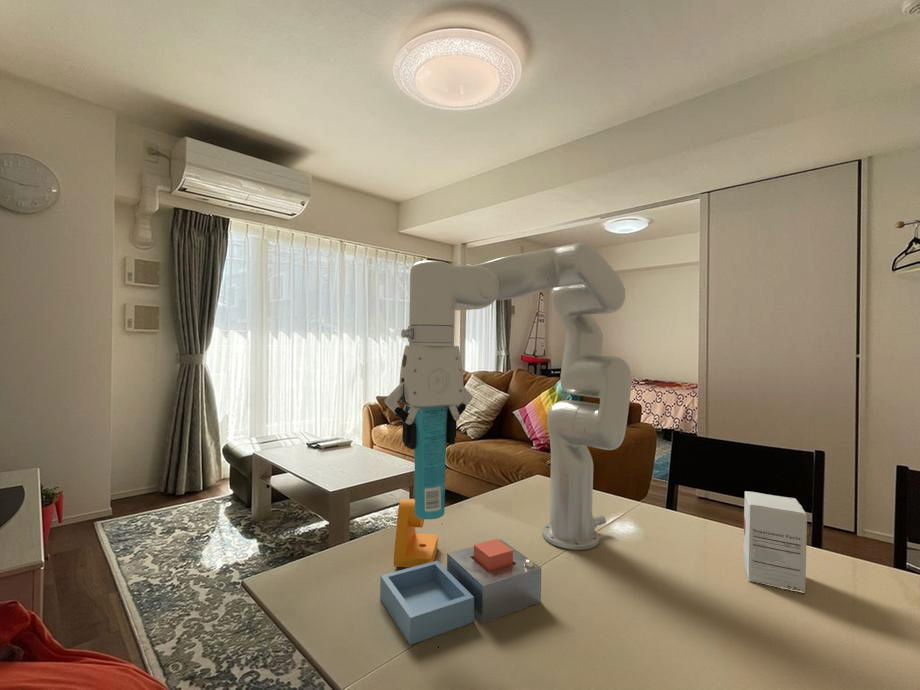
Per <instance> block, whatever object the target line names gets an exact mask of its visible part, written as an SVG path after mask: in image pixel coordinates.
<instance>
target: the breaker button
mask: <svg viewBox="0 0 920 690" xmlns="http://www.w3.org/2000/svg"><path fill="white" fill-rule="evenodd" d="M499 540H500V539H498V538H495V539H491V540H487V541H483V542H480V543H479V542H478V543H475V544H473V547H474V561H475V562H477V563H478V564H479V565H480V566H481V567H483V568H484V569H485V570H486V571H487V572H491V571H495V570H498V569H501V568H505V567H508V566H511V565H513V550H512V549H510V548H509V547H508V546H506V545H505V544H503V543H502V542H501V541H499Z"/></svg>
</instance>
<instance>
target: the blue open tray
mask: <svg viewBox="0 0 920 690" xmlns="http://www.w3.org/2000/svg"><path fill="white" fill-rule="evenodd" d="M379 576H380V580H379V581H380V582H379V583H380V584H379V587H380V588H379V590H380V591H379V599H380V601H381V602H382V604H383V606H384V607H385V609H386V610H387V612H388V613H389V615H390V616H391V618H392V620H393V621H394V622H395V625H396V626H397V627H398V629H399V631H400V632H401V633H402V636H403V637H404V638H405V640H406V641H407V643H408V645H409V646H412V645H413V644H416V643H419V642H422V641H426V640H428V639H431V638H433V637H436V636H439V635H442V634H445V633H447V632H451V631H453V630H456V629H459V628H462V627H464V626H466V625H469V624H473V623H474V621H475V619H474V617H475V616H474V596H473V595H471V594H470V593H469V592H468V591H467V590H466V589H465V588H464V587H463V586H462V585H461V584H460V583H459V582H458V581H457V580H456V579H455V578H454V577H453V576H452V575H451V574H450V573H449V572H448V571H447V568H445V567H444V565H443V564H441V562H439V561H438V560H434V562H430V563H426V564H422V565H419V566H415V567H411V568H410V567H406V568H404V569H401V570H397V571H392V572H390V573H389V572H388V573H384V574H381V575H379Z"/></svg>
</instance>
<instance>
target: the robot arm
mask: <svg viewBox="0 0 920 690" xmlns="http://www.w3.org/2000/svg"><path fill="white" fill-rule="evenodd" d="M549 290H551V292H550V293H551V296H550V297H551V303H552V305H553V308H554V310H555V311H556V312H557V315H559V318H560V319H561V321H562V325H563V326H564V331H565V343H564V349H563V356H562V361H561V362H562V363H561V369H560V370H561V371H560V379H559V380H560V386H561V388H562V390H563V391H565V392H566V393H568V394H570V395H574V396H580V397H582V396H583V397H590V398H597V399H599V403H594V402H593V403H592V402H589V401H579V400H572V399H571V400H570V399H569V400H568V399H566V400H565V399H564V400H559V401H556V402H555V403H553V404H552V405H551V407H550V408H549V409H548V412H547V417H546V424H547V431H548V436H549V445H550V446H549V447H550V474H549V475H550V478H549V479H550V483H549V484H550V487H549V523H547V524H546V525H544V526H543V528H542V537H543V538H544V539H545V540H546V542H548V543H549V544H551V545H554V546H556V547H559V548H562V549H566V550H574V551H575V550H576V551H583V550H589V549H592V548H595V547H596V546H597V545H598V544H600V543H599V542H600V536H599V534H598V532H597V531H596V528H597V527H598V526H601V525H605V524H606V523H607V520H606V517H605V516H604V515H599V516H595V517H594V515H593V502H594V501H593V500H594V499H593V494H594V492H593V490H594V489H593V488H594V461H593V460H594V459H593V457H592V454H591V452H590V450H589V448H588V447H590V448H595V449H601V450H606V451H613V450H617V449H618V448H619V447H620V446H621V445H622V443H623V441H624V439H625V436H626V431H627V426H628V419H629V418H628V416H629V408H630V401H631V395H632V394H631V392H632V383H633V380H632V372H631V371H632V370H631V367H630V366H629V364H628V363H627V361H625V359H624V358H621V357H619V356H613V355H602V353H603V352H602V351H603V343H604V337H603V336H604V335H603V331H602V329H601V327H600V326H599V324H598V323H597V321H596V319H595V318H594V316H592V315H598V314H601V315H603V314H605V315H607V314H611V313H615V312H617V311H619V310H620V309H621V308H622V307H623V305H624V303H625V301H626V300H625V299H626V289H625V286H624V283H623V281H622V279H621V277H620V276H619V275H618V272H616V271H615V270H614V269H613V267H612V266H611V265H610V263H609V262H608V260H606V258H604V256H603V255H602V254H601V253H600V252H599V251H598V250H597V249H596V248H595V247H593V246H591V245H590V244H588V243H585V242H578V243H573V244H572V243H571V244H566V245H562V246H555V247H551V248H550V247H549V248H544V249H539V250H535V251H534V250H533V251H529V252H523V253H517V254H512V255H507V256H504V257H500V258H496V259H492V260H489V261H486V262H482V263H478V264H472V265H461V264H460V265H455V264H451V263H448V262H446V261H440V260H422V261H418V262H416V263H414V264H413V265H412V266H411V268H410V272H409V315H408V316H409V317H408V318H409V321H408V322H409V323H408V326H407V328H406V329H402V330H401V333H400V334H401V335H400V336H401V338H405V339H407V342H408V345H407V344H406V345H405V346H404V350H403V354H402V359H401V364H400V365H401V366H400V374H399V384H398V385H397V387H396V388H394V389H393V390H392V391H391V393H389V395H388V396H386V397H385V399H384V401H383V402H384V404H385V405H386V406H387V407H388V409H390V410H391V411H392V413H393V414H394V415H395V416H396V417H397V418H398V419H399V421H400V422H402V434H401V435H402V442H403V444H404V446H405V447H406V448H408V449H410V450H414V449H415V448H416V424H414V418H415V416H416V414H417V411H418V409H419V408H428V407H443V406H446V407H448V408H447V433H446V444H449V445H455V444H456V438H457V424H458V423H457V422H458V421H459V420H460V418H461V415H462V414H463V412H464V411H465V410H466V409H467V407H468V406H469V404H470V403H471V401H472V400H473V399H474V398H473V397H474V396H473V394H471V393H470V391H468V389H467V388H466V387H465V386H464V370H463V361H462V357H461V352H460V347H459V346H458V345H455V326H456V324H455V321H456V320H455V319H456V318H455V314H456V311H471V310H473V311H474V310H481V309H485V308H487V307H489V306H490V305H492V304H493V303H494V302H495V301H504V300H505V301H506V300H513V299H518V298H524V297H527V296H530V295H534V294H537V293H541V292H545V291H549ZM398 401H400V403H401V404H403V405H404V407H401V406H400V404H399V403H398Z"/></svg>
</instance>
